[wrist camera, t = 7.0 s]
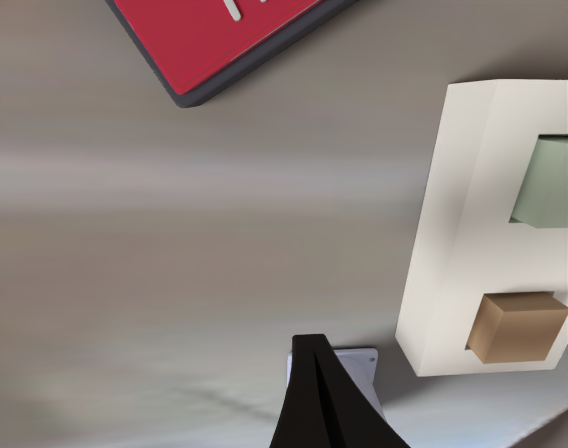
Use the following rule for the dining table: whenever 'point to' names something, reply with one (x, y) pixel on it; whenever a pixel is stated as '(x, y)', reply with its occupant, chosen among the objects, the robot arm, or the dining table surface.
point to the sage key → (545, 185)
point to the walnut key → (516, 326)
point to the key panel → (482, 224)
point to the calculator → (216, 38)
